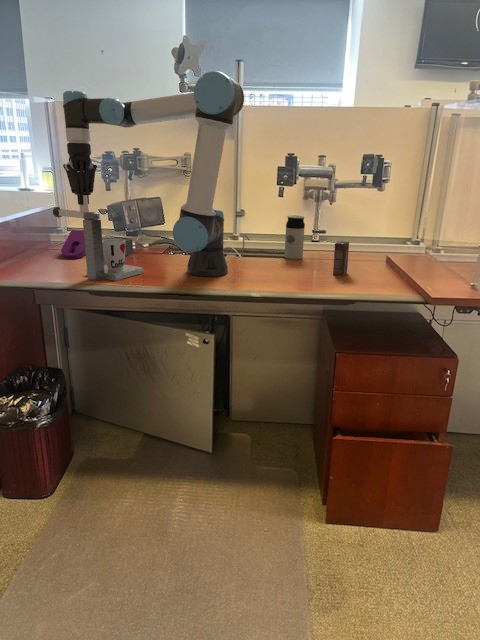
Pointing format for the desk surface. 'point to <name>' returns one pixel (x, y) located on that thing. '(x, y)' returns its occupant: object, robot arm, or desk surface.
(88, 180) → the robot arm
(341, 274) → the box
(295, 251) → the travel mug
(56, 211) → the lever
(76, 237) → the mounting bracket
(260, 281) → the desk surface
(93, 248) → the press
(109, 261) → the cup
